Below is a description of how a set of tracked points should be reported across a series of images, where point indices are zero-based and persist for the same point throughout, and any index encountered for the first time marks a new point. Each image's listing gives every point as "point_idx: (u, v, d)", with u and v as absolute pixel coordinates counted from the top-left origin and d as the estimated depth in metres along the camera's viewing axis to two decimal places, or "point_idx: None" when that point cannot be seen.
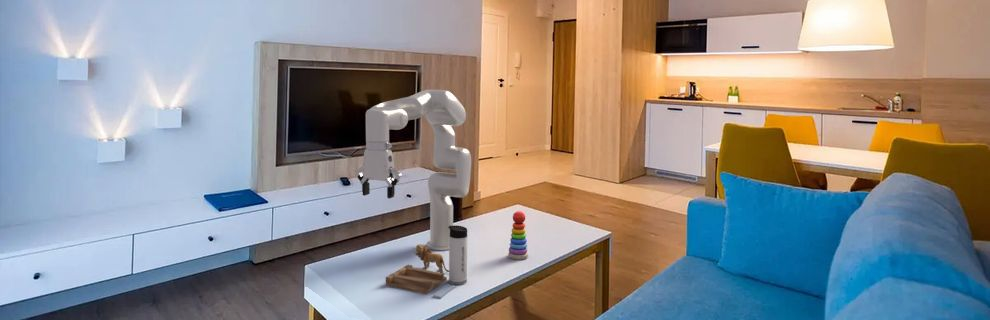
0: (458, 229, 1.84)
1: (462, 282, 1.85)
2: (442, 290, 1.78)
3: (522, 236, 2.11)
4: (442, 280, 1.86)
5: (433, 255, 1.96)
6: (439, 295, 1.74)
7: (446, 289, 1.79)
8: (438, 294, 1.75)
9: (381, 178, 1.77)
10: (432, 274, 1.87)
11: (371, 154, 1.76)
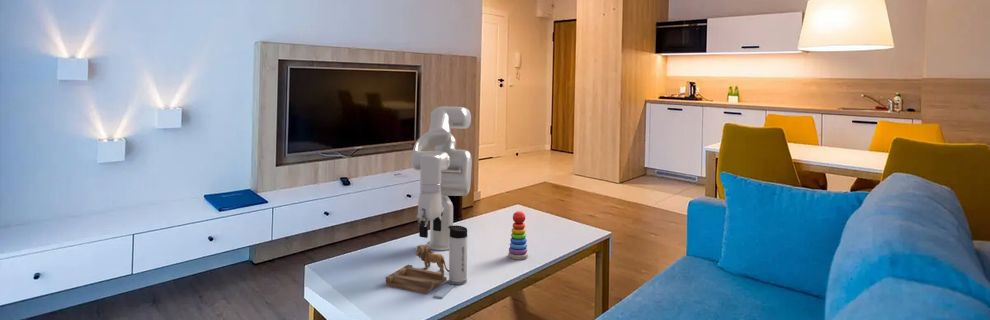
0: (458, 229, 1.84)
1: (462, 282, 1.85)
2: (443, 290, 1.78)
3: (522, 236, 2.11)
4: (442, 280, 1.86)
5: (434, 255, 1.96)
6: (440, 295, 1.74)
7: (446, 289, 1.79)
8: (439, 294, 1.75)
9: (439, 215, 1.96)
10: (432, 274, 1.87)
11: (435, 195, 1.92)
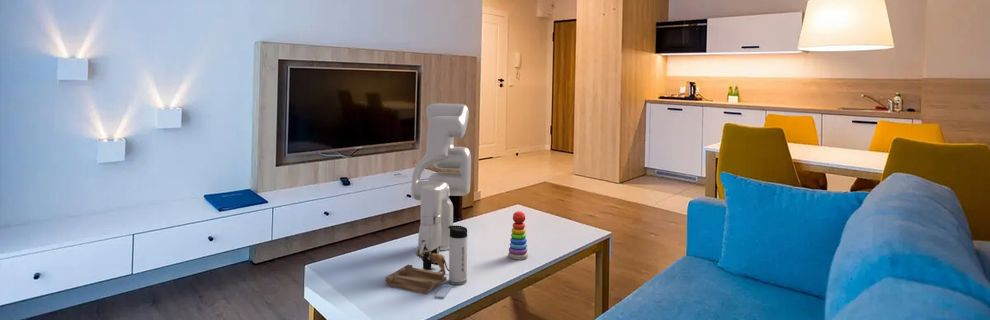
0: (458, 229, 1.84)
1: (462, 282, 1.85)
2: (443, 290, 1.77)
3: (522, 236, 2.11)
4: (442, 280, 1.86)
5: (435, 256, 1.95)
6: (442, 295, 1.74)
7: (446, 289, 1.79)
8: (440, 294, 1.74)
9: (439, 245, 1.99)
10: (432, 274, 1.87)
11: (435, 227, 1.94)
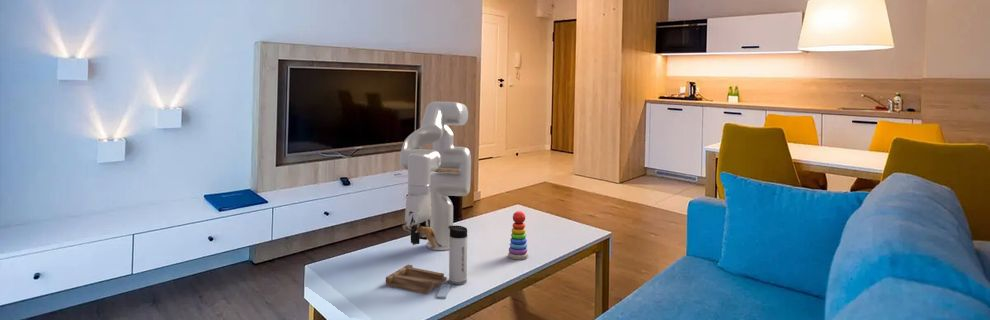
0: (458, 229, 1.84)
1: (462, 282, 1.85)
2: (443, 291, 1.77)
3: (522, 236, 2.11)
4: (442, 280, 1.86)
5: (423, 229, 1.80)
6: (443, 295, 1.74)
7: (445, 289, 1.79)
8: (441, 294, 1.74)
9: (428, 217, 1.83)
10: (432, 274, 1.87)
11: (424, 197, 1.79)
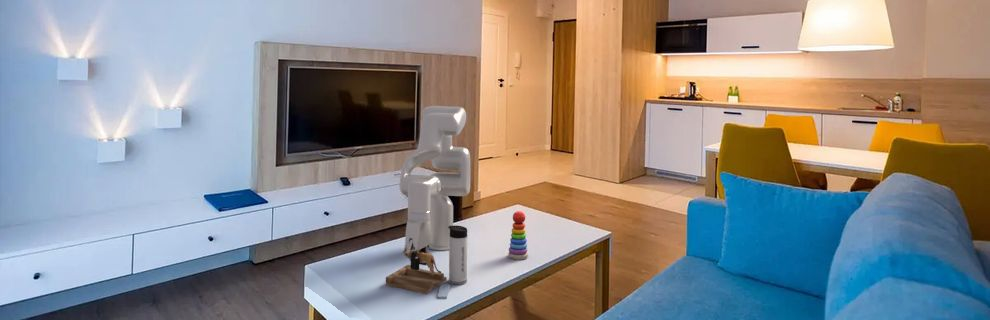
0: (458, 229, 1.84)
1: (462, 282, 1.85)
2: (443, 291, 1.77)
3: (522, 236, 2.11)
4: (442, 280, 1.86)
5: (423, 255, 1.82)
6: (444, 295, 1.74)
7: (445, 289, 1.79)
8: (442, 294, 1.74)
9: (428, 243, 1.85)
10: None
11: (424, 224, 1.80)
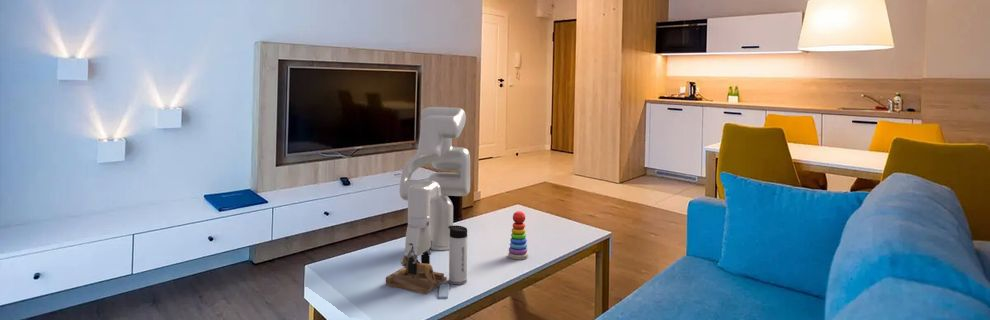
0: (458, 229, 1.84)
1: (462, 282, 1.85)
2: (443, 291, 1.77)
3: (522, 236, 2.11)
4: (442, 280, 1.86)
5: (422, 265, 1.83)
6: (445, 295, 1.74)
7: (445, 289, 1.79)
8: (443, 294, 1.74)
9: (428, 248, 1.85)
10: None
11: (424, 229, 1.81)
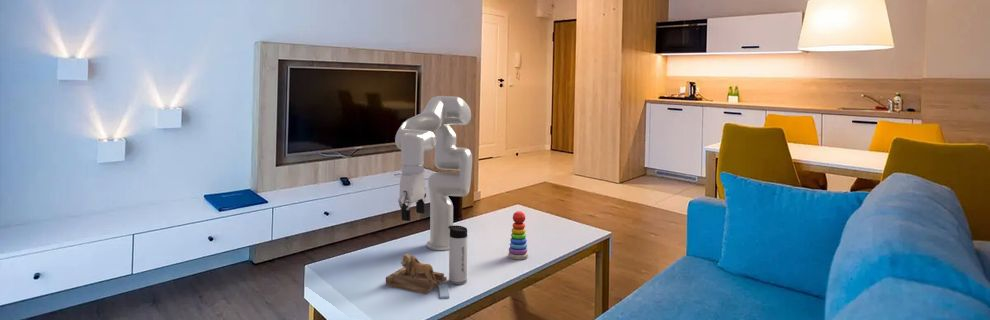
0: (458, 229, 1.84)
1: (462, 282, 1.85)
2: (443, 291, 1.77)
3: (522, 236, 2.11)
4: (442, 280, 1.86)
5: (422, 265, 1.82)
6: (446, 295, 1.74)
7: (445, 289, 1.79)
8: (444, 294, 1.74)
9: (422, 196, 1.87)
10: (432, 274, 1.87)
11: (418, 177, 1.83)
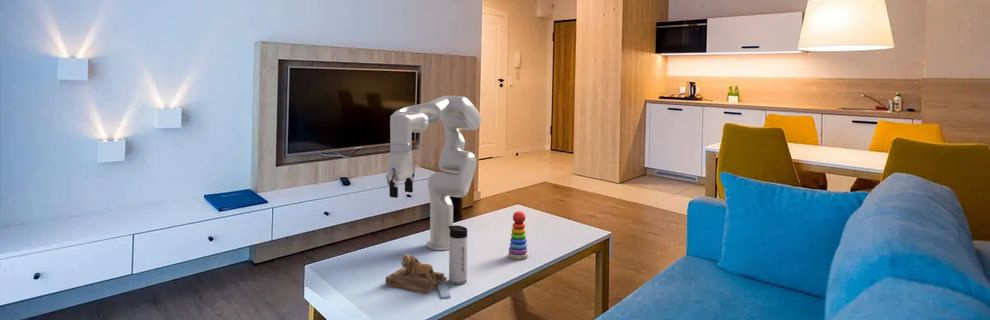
0: (458, 229, 1.84)
1: (462, 282, 1.85)
2: (443, 291, 1.77)
3: (522, 236, 2.11)
4: (442, 280, 1.86)
5: (422, 265, 1.82)
6: (447, 295, 1.74)
7: (444, 289, 1.79)
8: (445, 294, 1.74)
9: (410, 175, 1.95)
10: (432, 274, 1.87)
11: (406, 155, 1.90)
